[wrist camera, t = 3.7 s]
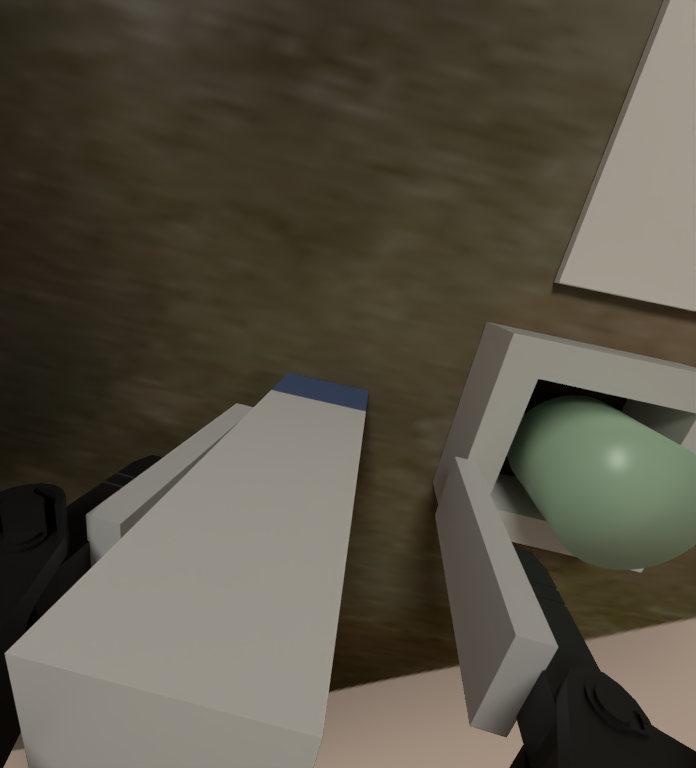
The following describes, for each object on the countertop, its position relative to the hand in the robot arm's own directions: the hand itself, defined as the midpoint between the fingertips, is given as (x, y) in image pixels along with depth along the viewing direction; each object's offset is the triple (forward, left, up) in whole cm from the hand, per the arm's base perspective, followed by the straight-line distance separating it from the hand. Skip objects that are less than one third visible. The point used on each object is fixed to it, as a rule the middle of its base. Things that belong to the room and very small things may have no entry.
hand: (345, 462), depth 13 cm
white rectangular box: (0, -2, -3) cm, 4 cm away
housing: (-2, +8, -3) cm, 9 cm away
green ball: (-2, +8, -1) cm, 9 cm away
